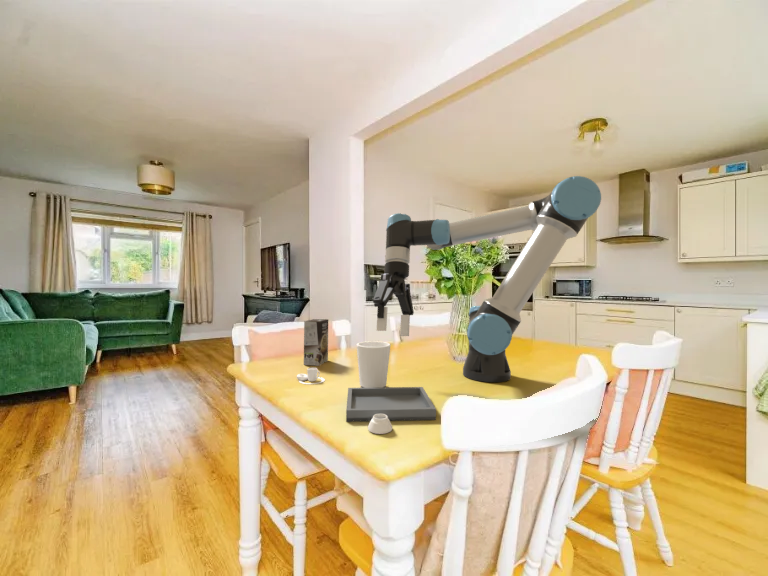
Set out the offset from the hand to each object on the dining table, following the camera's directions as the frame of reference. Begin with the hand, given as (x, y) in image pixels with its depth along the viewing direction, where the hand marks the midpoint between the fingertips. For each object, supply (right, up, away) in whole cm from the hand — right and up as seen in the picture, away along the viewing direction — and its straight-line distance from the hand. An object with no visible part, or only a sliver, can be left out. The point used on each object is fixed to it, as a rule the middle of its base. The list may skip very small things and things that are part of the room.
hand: (393, 333), depth 100 cm
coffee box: (-28, -15, +29) cm, 43 cm away
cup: (-6, -16, 0) cm, 17 cm away
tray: (-2, -16, -16) cm, 23 cm away
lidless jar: (-4, -17, -28) cm, 33 cm away
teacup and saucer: (-26, -16, +9) cm, 31 cm away
